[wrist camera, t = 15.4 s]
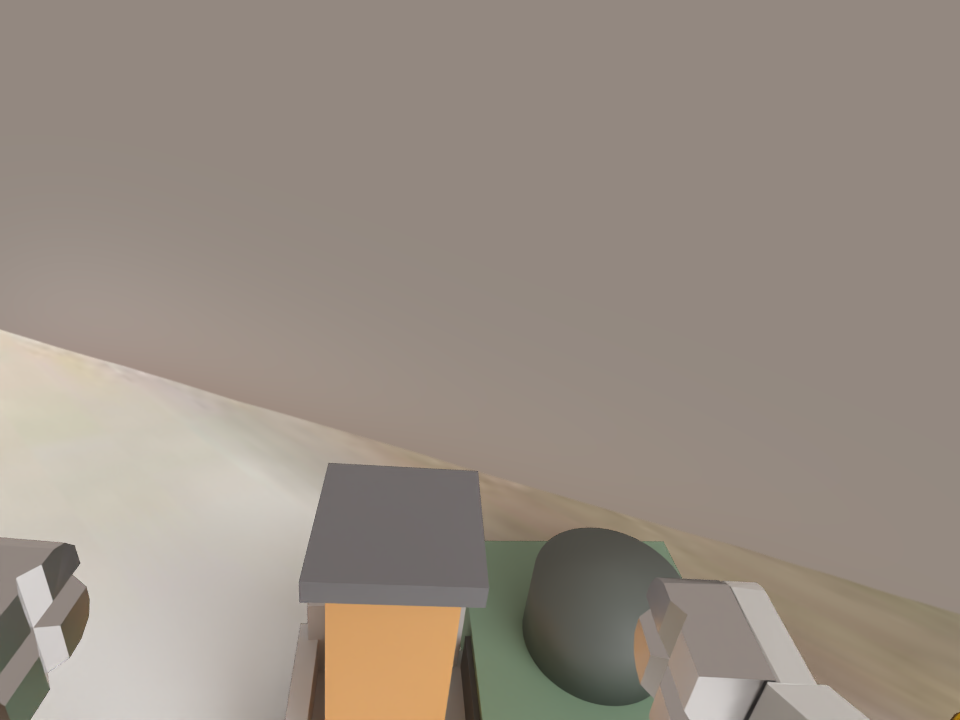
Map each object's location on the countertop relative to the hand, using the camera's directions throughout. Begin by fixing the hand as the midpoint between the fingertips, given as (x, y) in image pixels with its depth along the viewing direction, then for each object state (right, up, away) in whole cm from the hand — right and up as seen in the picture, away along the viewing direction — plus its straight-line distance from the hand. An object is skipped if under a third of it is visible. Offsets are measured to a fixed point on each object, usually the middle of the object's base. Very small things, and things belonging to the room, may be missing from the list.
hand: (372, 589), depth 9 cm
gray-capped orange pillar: (-3, -15, +22) cm, 27 cm away
